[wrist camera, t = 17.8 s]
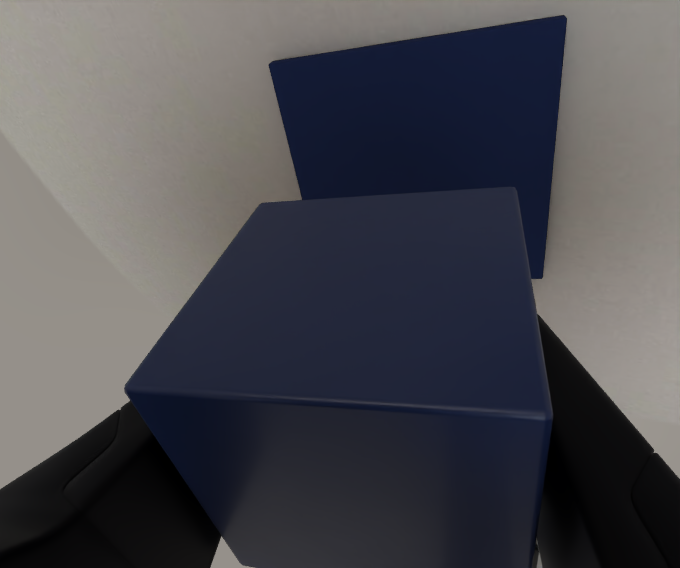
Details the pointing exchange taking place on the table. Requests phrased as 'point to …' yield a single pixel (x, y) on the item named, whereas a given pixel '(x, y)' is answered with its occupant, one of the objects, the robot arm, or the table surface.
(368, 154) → the blue mat
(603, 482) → the robot arm
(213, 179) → the table surface
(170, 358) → the blue block
